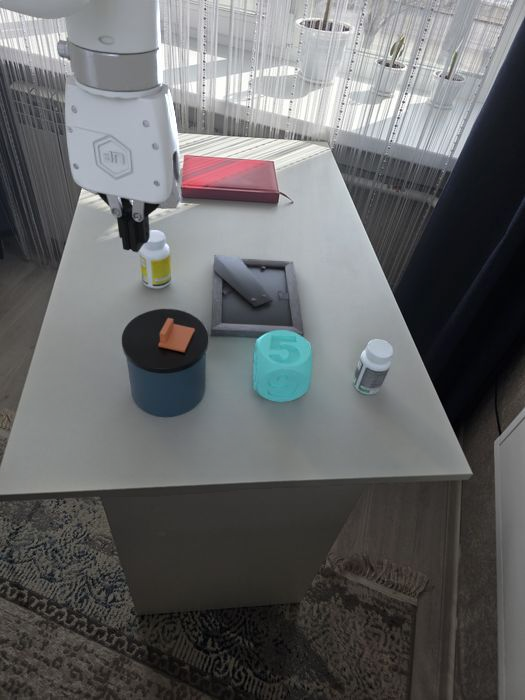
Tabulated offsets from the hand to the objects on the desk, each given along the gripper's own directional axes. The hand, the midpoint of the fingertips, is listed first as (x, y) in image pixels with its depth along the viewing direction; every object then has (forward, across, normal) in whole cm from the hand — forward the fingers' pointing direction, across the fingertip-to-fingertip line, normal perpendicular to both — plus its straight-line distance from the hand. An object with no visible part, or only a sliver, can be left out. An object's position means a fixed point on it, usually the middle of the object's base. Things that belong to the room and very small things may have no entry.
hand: (135, 244), depth 54 cm
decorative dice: (+25, +19, +6) cm, 32 cm away
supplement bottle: (+25, -8, +24) cm, 35 cm away
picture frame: (+25, +11, +25) cm, 37 cm away
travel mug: (+25, +3, 0) cm, 25 cm away
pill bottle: (+25, +33, +10) cm, 43 cm away
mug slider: (+14, +5, 0) cm, 15 cm away
